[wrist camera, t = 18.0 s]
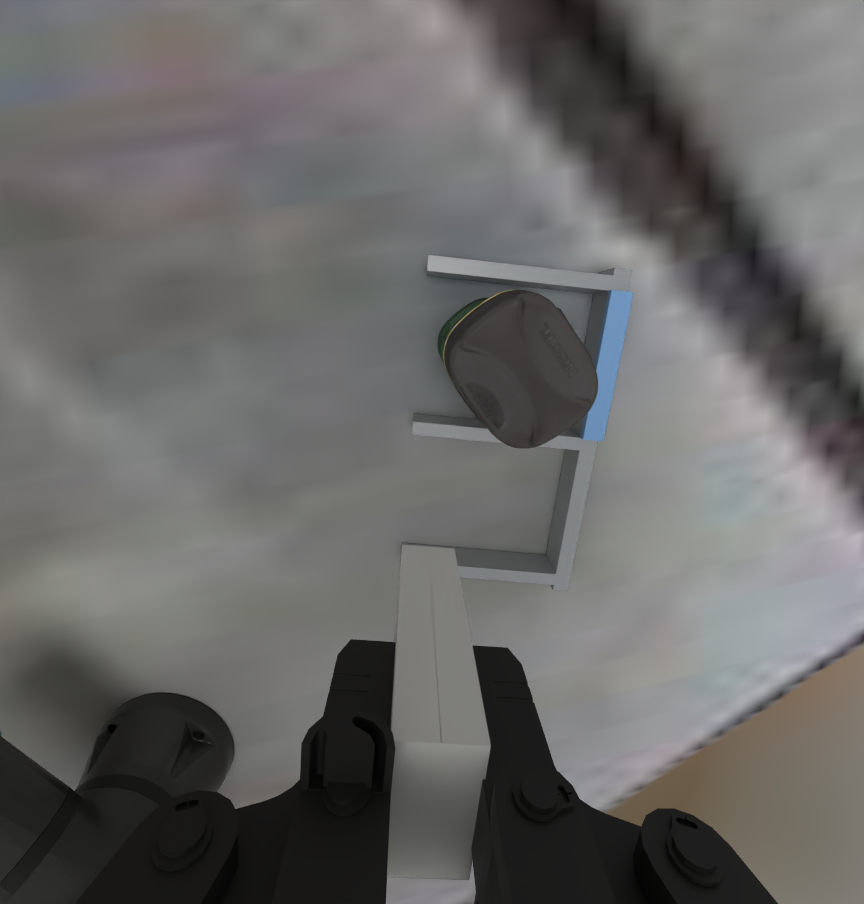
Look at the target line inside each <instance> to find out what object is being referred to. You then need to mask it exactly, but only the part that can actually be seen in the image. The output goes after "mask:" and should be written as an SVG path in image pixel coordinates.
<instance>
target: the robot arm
mask: <svg viewBox="0 0 864 904" xmlns="http://www.w3.org/2000/svg"><path fill="white" fill-rule="evenodd" d="M1 735H2V733H1V731H0V904H386V885H387V877H388V878H419V879H449V880H469V877H470V871H471V865H472V859H473V868H474V877H475V886H476V896H475V902H474V904H778V903H777V902H776V901H775V900H774V898H773V897H772V896H771V895H770V893H769V892H768V891H767V890H766V889H765V888H764V886H763V885H762V884H761V883H760V881H759V880H758V879H757V878H756V877H755V875H754V874H753V873H752V872H751V871H750V869H749V868H748V867H747V866H746V864H745V863H744V862H743V861H742V860H741V858H740V857H739V856H738V855H737V854H736V852H735V851H734V850H733V849H732V847H731V846H730V845H729V844H728V843H727V842H726V841H725V840H724V839H723V838H722V837H721V836H720V835H719V834H718V833H717V832H716V831H715V830H714V829H713V828H712V827H710V826H708V825H707V824H705V823H704V822H702V821H701V820H699V819H698V818H696V817H695V816H693V815H691V814H688V813H685V812H682V811H679V810H676V809H656V810H654V811H653V812H651V813H649V814H648V815H646V817H645V819H644V822H643V824H642V826H638V825H635V824H632V823H629V822H627V821H624V820H621V819H619V818H616V817H613V816H610V815H608V814H605V813H603V812H601V811H598V810H596V809H594V808H592V807H590V806H589V805H587V804H586V803H585V802H583V801H582V800H580V799H579V797H578V795H577V793H576V791H575V790H574V788H573V786H572V785H571V784H570V783H569V782H568V781H567V780H566V779H565V778H564V777H563V776H562V775H561V774H560V773H559V772H558V771H557V770H556V768H555V766H554V763H553V760H552V757H551V754H550V751H549V748H548V744H547V741H546V738H545V735H544V732H543V729H542V726H541V723H540V720H539V717H538V714H537V710H536V707H535V704H534V703H533V698H532V695H531V692H530V689H529V687H528V683H527V679H526V676H525V673H524V670H523V667H522V664H521V663H520V662H519V661H518V660H517V658H516V657H515V656H514V655H513V654H512V653H511V651H510V650H509V649H508V648H502V647H487V646H472V641H471V636H470V630H469V625H468V620H467V614H466V609H465V603H464V598H463V593H462V587H461V582H460V576H459V571H458V566H457V560H456V555H455V549H454V548H441V547H428V546H415V545H402V553H401V564H400V575H399V585H398V596H397V607H396V618H395V629H394V642H383V641H367V640H352V639H351V640H350V641H349V642H348V644H347V645H346V646H345V647H344V648H343V649H342V650H341V652H340V653H339V654H338V656H337V661H336V665H335V669H334V673H333V677H332V682H331V686H330V691H329V694H328V698H327V703H326V707H325V711H324V715H323V717H322V718H321V719H320V720H318V721H317V722H316V723H315V724H314V725H313V726H312V727H311V728H309V730H308V732H307V734H306V736H305V738H304V740H303V742H302V747H301V773H300V780H299V781H298V782H297V783H296V784H295V785H294V786H293V787H292V788H290V789H289V790H287V791H285V792H284V793H282V794H281V795H279V796H277V797H274V798H271V799H269V800H266V801H263V802H260V803H256V804H253V805H249V806H245V807H242V808H238V809H235V808H234V806H233V804H232V802H231V801H230V800H229V799H228V798H226V797H224V796H223V795H221V794H219V793H217V790H218V789H219V788H220V786H221V785H222V783H223V781H224V779H225V777H226V774H227V772H228V770H229V768H230V765H231V763H232V760H233V754H234V746H233V741H232V737H231V734H230V732H229V730H228V728H227V727H226V725H225V724H224V722H223V721H222V720H221V719H220V718H219V717H218V716H217V715H216V714H215V713H214V712H213V711H212V710H210V709H209V708H207V707H206V706H204V705H203V704H201V703H199V702H197V701H195V700H192V699H189V698H186V697H183V696H179V695H173V694H150V695H144V696H140V697H137V698H135V699H132V700H130V701H128V702H127V703H125V704H123V705H122V706H121V707H120V708H119V709H117V710H116V712H115V713H114V714H113V715H112V716H111V718H110V719H109V720H108V721H107V723H106V724H105V725H104V727H103V728H102V729H101V731H100V733H99V734H98V736H97V738H96V741H95V743H94V746H93V749H92V751H91V754H90V757H89V759H88V762H87V764H86V767H85V770H84V772H83V775H82V777H81V780H80V783H79V785H78V787H77V789H76V790H75V791H74V790H72V789H71V788H69V787H68V786H67V785H66V784H64V783H63V782H62V781H60V780H59V779H58V778H56V777H55V776H54V775H52V774H51V773H49V772H48V771H47V770H45V769H44V768H43V767H41V766H40V765H39V764H37V763H36V762H35V761H33V760H32V759H31V758H29V757H28V756H27V755H25V754H24V753H23V752H21V751H20V750H19V749H17V748H16V747H15V746H13V745H12V744H11V743H9V742H8V741H7V740H5V739H4V738H3V737H1Z"/></svg>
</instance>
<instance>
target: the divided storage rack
mask: <svg viewBox="0 0 864 904" xmlns="http://www.w3.org/2000/svg"><path fill="white" fill-rule="evenodd" d="M631 274H632V270H629V269H620V268H613V269H610V270H606V271H603V272H599V273H597V274H594V273H585V272H576V271H567V270H558V269H549V268H540V267H531V266H522V265H513V264H504V263H495V262H486V261H477V260H468V259H459V258H450V257H441V256H432V255H428V266H427V276H436V277H445V278H454V279H463V280H472V281H482V282H491V283H500V284H509V285H518V286H527V287H536V288H546V289H555V290H564V291H573V292H582V293H591V294H594V295H593V300H592V306H591V311H590V316H589V322H588V327H587V333H586V338H585V344H584V346H585V348H586V349H587V351H588V352H589V353H590V355H591V357H592V362H593V364H594V366H595V369H596V372H597V377H598V393H597V396H596V399H595V402H594V404H593V406H592V407H591V409H590V411H589V412H588V413H587V414H586V415H585V416H584V417H583V418H581V419H580V420H579V421H578V422H577V423H575V424H574V425H573V426H572V427H570V428H569V429H567V430H566V431H565V432H563V433H561V434H560V435H558V436H557V437H555V438H554V439H552V440H550V441H548V442H547V443H545V444H542V445H541V446H538V447H548V448H558V449H565V453H564V458H563V464H562V469H561V475H560V480H559V486H558V491H557V496H556V502H555V507H554V513H553V518H552V524H551V529H550V535H549V540H548V546H547V551H546V555H541V554H529V553H517V552H505V551H494V550H482V549H470V548H458V547H447V546H435V545H423V544H411V543H402V545H415V546H428V547H441V548H454V549H455V555H456V560H457V566H458V571H459V576H460V577H464V578H476V579H488V580H500V581H512V582H524V583H536V584H549V585H551V587H552V589H553V590H556V591H568V587H569V582H570V577H571V572H572V567H573V562H574V557H575V552H576V547H577V542H578V537H579V532H580V527H581V522H582V517H583V512H584V507H585V502H586V497H587V493H588V488H589V483H590V478H591V473H592V468H593V463H594V458H595V453H596V448H597V443H598V441H603V440H604V435H605V430H606V426H607V421H608V416H609V411H610V406H611V401H612V396H613V391H614V387H615V382H616V377H617V372H618V367H619V362H620V357H621V352H622V347H623V343H624V338H625V333H626V328H627V323H628V318H629V313H630V308H631V304H632V299H633V294H634V293H633V292H628V289H629V284H630V279H631ZM412 435H421V436H432V437H442V438H453V439H463V440H474V441H485V442H495V443H503V442H501V441H499V440H498V439H497V438H496V437H495V436H493V435H492V434H491V432H490V431H489V430H488V429H487V428H486V426H485V425H484V424H483V423H482V422H481V421H480V420H477V419H466V418H456V417H446V416H435V415H425V414H415V413H414V419H413V429H412ZM401 553H402V550H401ZM400 564H401V559H400ZM399 572H400V570H399Z"/></svg>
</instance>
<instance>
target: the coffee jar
mask: <svg viewBox="0 0 864 904" xmlns="http://www.w3.org/2000/svg"><path fill="white" fill-rule="evenodd" d="M438 350H439V354H440V356H441V358H442V360H443V362H444V364H445V368H446V371H447V373H448V375H449V377H450V379H451V381H452V383H453V384H454V386H455V388H456V389H457V391H458V393H459V394H460V396H461V397H462V399H463V400H464V401H465V403H466V404H467V405H468V407H469V408H470V409H471V411H472V412H473V413H474V414H475V416H476V417H477V418H478V419H479V420H480V421H481V422H482V423H483V424H484V425H485V426H486V428H487V429H488V430H489V431H490V432H491V434H492V435H493V436H495V437H496V438H497V439H498V440H499V441H501V442H503V443H504V444H506V445H509V446H511V447H515V448H533V447H538V446H541V445H542V444H545V443H547V442H548V441H550V440H552V439H554V438H555V437H557V436H558V435H560V434H561V433H563V432H565V431H566V430H567V429H569V428H570V427H572V426H573V425H574V424H575V423H577V422H578V421H579V420H580V419H581V418H583V417H584V416H585V415H586V414H587V413H588V412H589V411H590V409H591V407H592V406H593V404H594V402H595V399H596V396H597V393H598V377H597V372H596V369H595V366H594V364H593V362H592V357H591V355H590V353H589V352H588V351H587V349H586V348H585V346H584V345H583V343H582V342H581V340H580V338H579V337H578V335H577V334H576V332H575V331H574V330H573V328H572V326H571V325H570V323H569V322H568V320H567V318H566V317H565V315H564V314H563V312H562V311H561V310H560V309H559V308H557V307H556V306H555V305H554V304H553V303H552V302H551V301H550V300H548V299H547V298H545V297H544V296H542V295H540V294H537V293H534V292H530V291H525V290H507V291H503V292H500V293H498V294H496V295H494V296H492V297H490V298H483V299H478V300H476V301H473V302H472V303H470V304H468V305H467V306H465V307H464V308H462V309H461V310H459V311H458V312H457V313H456V314H455V315H453V316H452V317H451V318H450V319H449V320H448V321H447V322H446V323H445V325H444V326H443V327H442V329H441V331H440V333H439V337H438Z"/></svg>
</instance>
